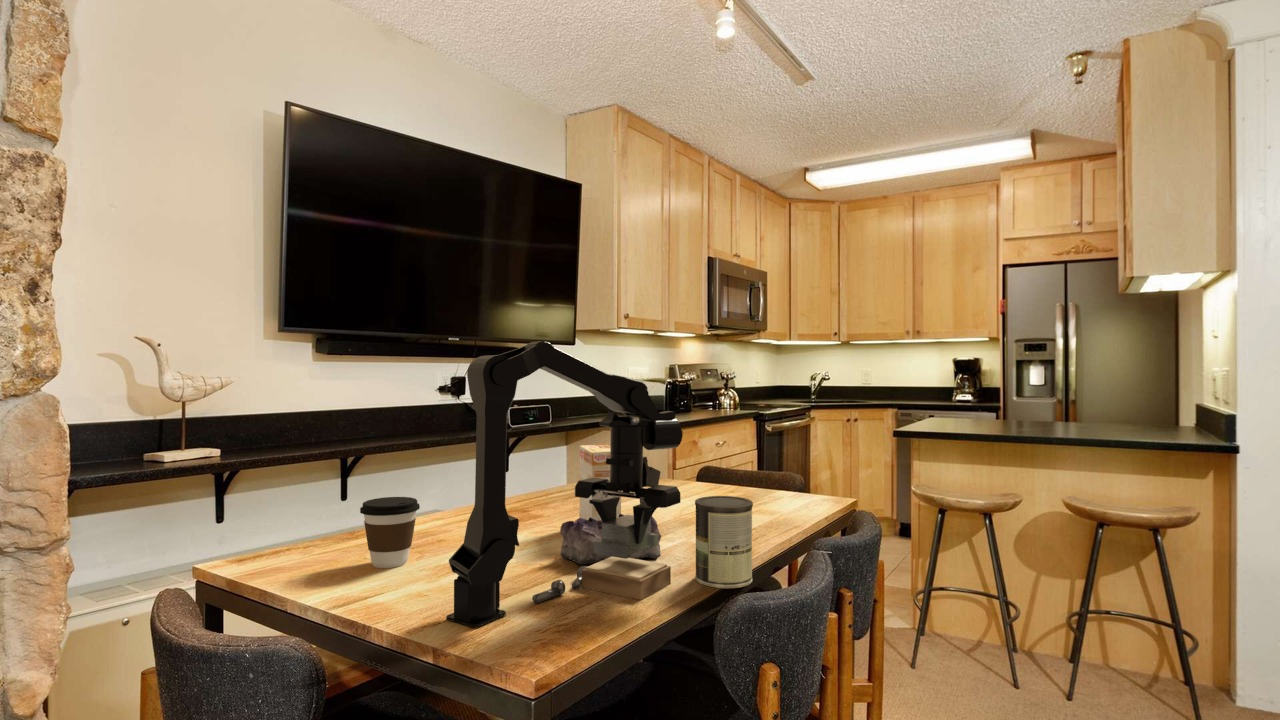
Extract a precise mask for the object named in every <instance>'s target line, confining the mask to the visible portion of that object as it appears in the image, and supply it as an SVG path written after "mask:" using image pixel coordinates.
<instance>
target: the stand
mask: <svg viewBox="0 0 1280 720" xmlns="http://www.w3.org/2000/svg"><path fill="white" fill-rule="evenodd" d="M671 568H672V566H671V565H670V566H669V565H667V563H659V562H655V561H648V560H644V559H633V558H627V559H624V558H618V557H609V558H607V559H605V560H602V561H600V562H594V563H592V564H591V565H590V564H589V566H588V565H587V567H586V568H585V569H583V570H582V585H581V588H583V589H588V590H591V591H597V592H602V593H606V594H612V595H616V596H621V597H626V598H630V599H635V600H640V601H641V600H643V599H645V598H648V597H649V596H650V595H653V594H654V593H656V592H658V591H660V590H662V589H663V588H665V587H667V586H669V585H671V582H672V581H671V578H672V577H671V576H672V575H671Z"/></svg>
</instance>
